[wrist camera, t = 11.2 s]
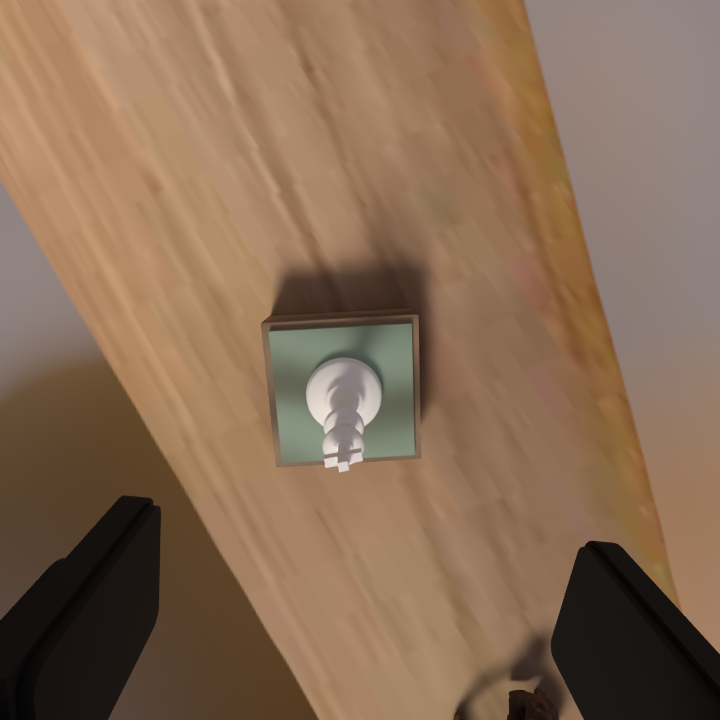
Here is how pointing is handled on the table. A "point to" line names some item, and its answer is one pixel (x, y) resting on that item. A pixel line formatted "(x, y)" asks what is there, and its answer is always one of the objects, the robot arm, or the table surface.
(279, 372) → the pedestal
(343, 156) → the table surface
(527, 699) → the brown curved open ring
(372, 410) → the chess piece
